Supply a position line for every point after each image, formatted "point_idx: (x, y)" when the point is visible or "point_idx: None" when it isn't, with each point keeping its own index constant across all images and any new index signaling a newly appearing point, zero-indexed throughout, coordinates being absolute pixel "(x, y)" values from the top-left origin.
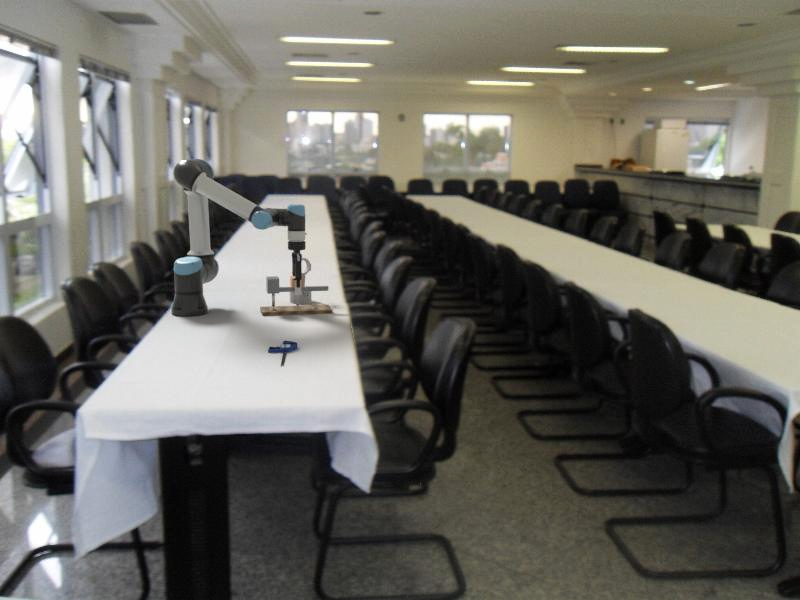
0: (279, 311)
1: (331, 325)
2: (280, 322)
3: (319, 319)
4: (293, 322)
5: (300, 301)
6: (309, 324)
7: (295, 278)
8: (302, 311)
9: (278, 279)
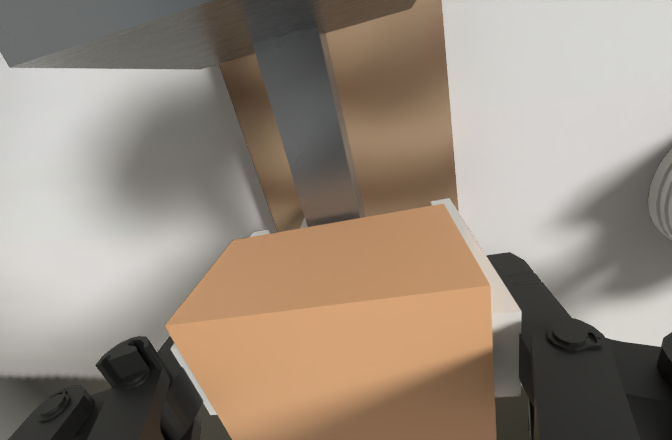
0: (229, 74)
1: (85, 339)
2: (35, 114)
3: (179, 299)
4: (68, 187)
5: (665, 187)
6: (62, 262)
7: (111, 385)
8: (277, 226)
9: (12, 45)
